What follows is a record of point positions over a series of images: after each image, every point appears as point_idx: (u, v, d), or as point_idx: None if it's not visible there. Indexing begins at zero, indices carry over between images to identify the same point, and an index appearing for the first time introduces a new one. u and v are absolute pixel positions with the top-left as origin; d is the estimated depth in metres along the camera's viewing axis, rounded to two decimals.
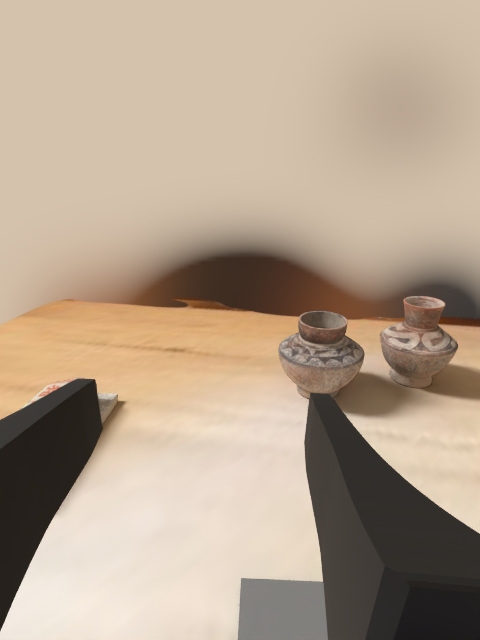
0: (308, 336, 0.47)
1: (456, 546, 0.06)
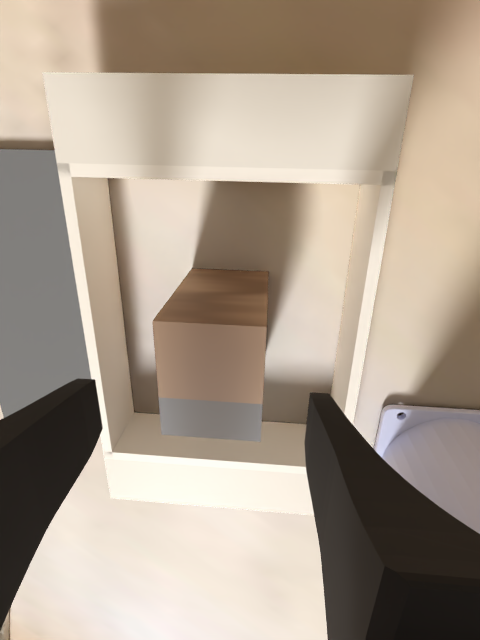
0: None
1: (455, 547, 0.06)
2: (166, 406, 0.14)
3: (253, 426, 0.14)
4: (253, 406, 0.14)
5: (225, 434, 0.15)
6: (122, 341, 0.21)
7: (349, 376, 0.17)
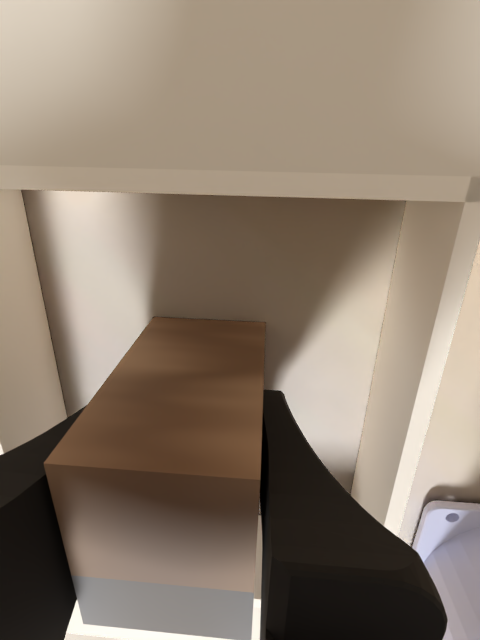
0: None
1: (353, 537, 0.06)
2: (87, 588, 0.08)
3: (238, 621, 0.08)
4: (238, 595, 0.08)
5: (190, 628, 0.09)
6: (58, 415, 0.15)
7: (390, 492, 0.11)
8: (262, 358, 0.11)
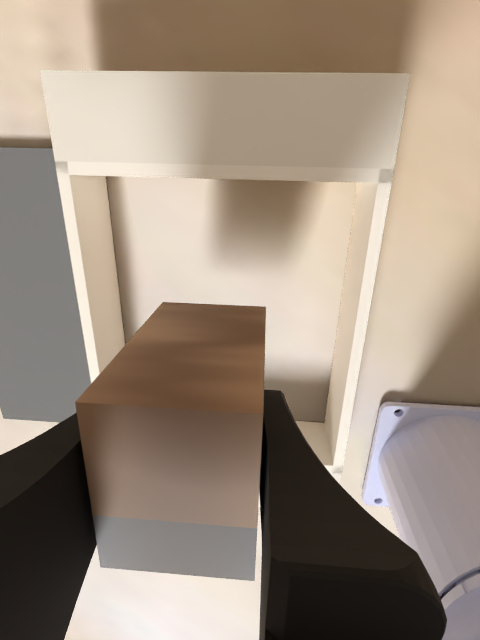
0: None
1: (352, 537, 0.06)
2: (106, 528, 0.09)
3: (242, 559, 0.09)
4: (243, 531, 0.09)
5: (199, 569, 0.09)
6: (121, 339, 0.21)
7: (347, 373, 0.17)
8: (263, 332, 0.12)
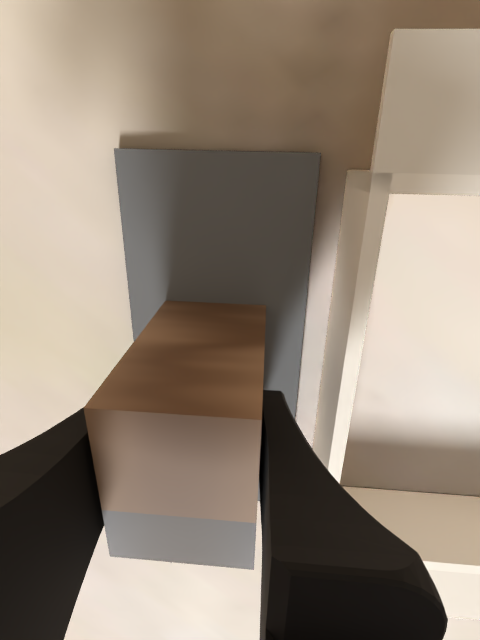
0: None
1: (353, 538, 0.06)
2: (115, 522, 0.10)
3: (243, 550, 0.10)
4: (243, 525, 0.09)
5: (202, 558, 0.10)
6: None
7: None
8: (263, 333, 0.12)
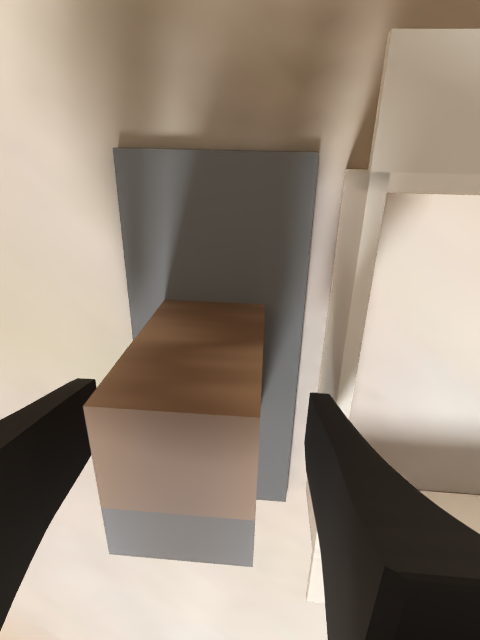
0: None
1: (456, 547, 0.06)
2: (114, 520, 0.10)
3: (241, 548, 0.10)
4: (241, 523, 0.09)
5: (201, 556, 0.10)
6: None
7: None
8: (262, 332, 0.12)
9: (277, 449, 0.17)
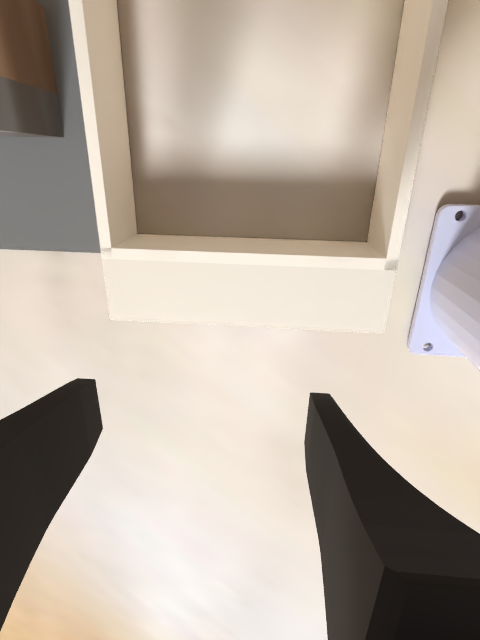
0: None
1: (455, 547, 0.06)
2: None
3: None
4: None
5: None
6: (123, 121, 0.17)
7: (412, 109, 0.14)
8: None
9: (89, 186, 0.19)
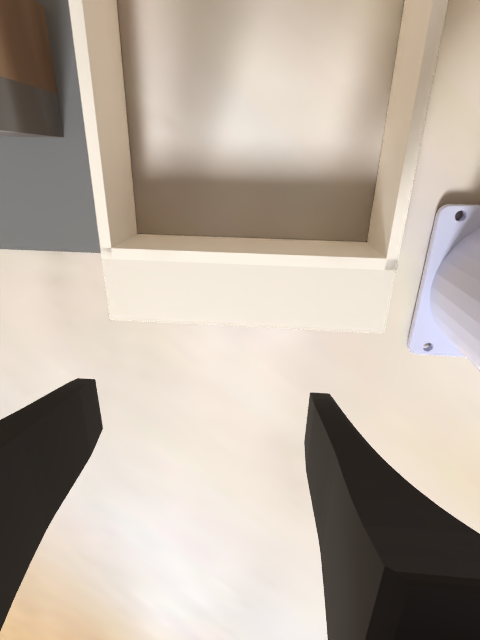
0: None
1: (455, 547, 0.06)
2: None
3: None
4: None
5: None
6: (123, 121, 0.17)
7: (412, 109, 0.14)
8: None
9: (89, 186, 0.19)
